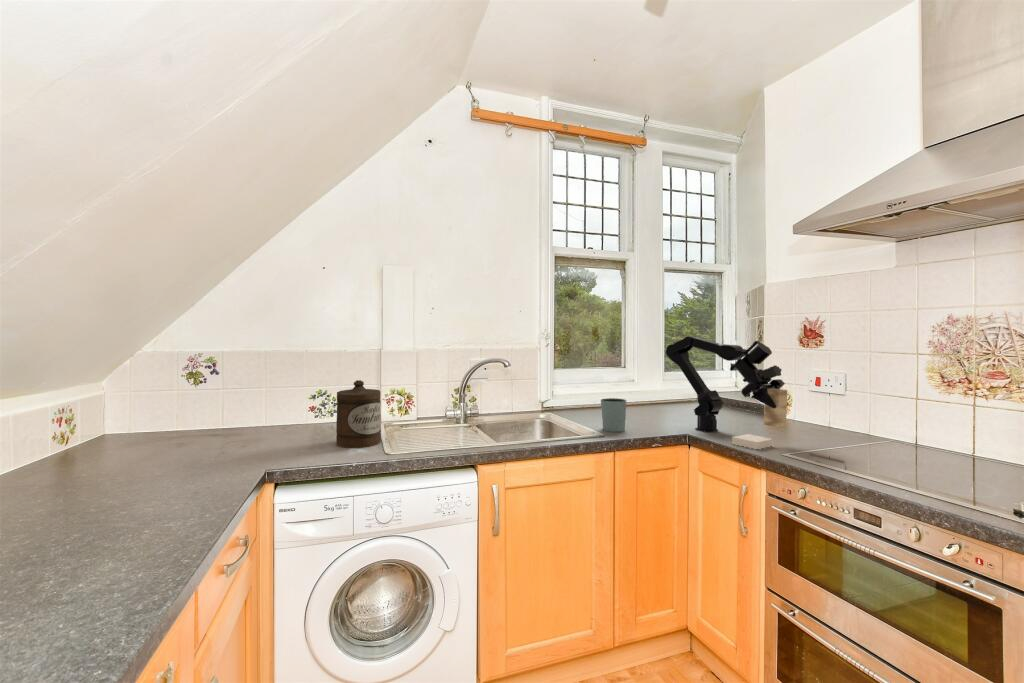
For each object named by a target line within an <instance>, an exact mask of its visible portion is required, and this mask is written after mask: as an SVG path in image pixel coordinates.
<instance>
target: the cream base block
mask: <svg viewBox="0 0 1024 683" xmlns="http://www.w3.org/2000/svg"><path fill="white" fill-rule="evenodd" d="M773 442H774V440H773V438H770V437H765V436H760V435H759V436H758V435H755V434H754V435H753V434H749V433H747V434H746V433H745V434H742V435H741V434H740V435H736V436H732V444H731V445H733V444H735V445H734V446H737V445H739V447H742V446H744V447H743V448H746V447H749V448H748V449H751V448H754V449H753V450H755V449H759V450H762V449H761V448H764V449H766V448H765V447H769V448H771V447H770V446H772V447H773V445H774V444H773Z"/></svg>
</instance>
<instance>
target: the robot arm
mask: <svg viewBox="0 0 1024 683" xmlns="http://www.w3.org/2000/svg"><path fill="white" fill-rule="evenodd" d="M693 348H696V349H700V350H702V351H703V350H704V351H706V352H709V353H713V354H714V355H717V356H718V357H719V358H721V359H723V360H725V361H727V362H729V361H730V362H731V361H734V363H730V367H729V371H730V372H733V371H735V372H736V371H737V372H738V373H739V374H740V375H741V376H742V381H743V382H744V383H747V384H746V385H745V386H744V387H742V389H741V394H742V396H743V397H744V398H750V399H754V400H756V401H758V402H760V403H762V404H764V405H765V404H766V405H768V406H770V407H772V408H776V405H775V403H774V402H773V400H772V399H771V397H770V396H769V394H768V393H767V389H772V388H773V389H781V388H782V387H783V386H784V385H785V384H786V383H785V382H784V380H782V379H781V378H780V379H778V378H776V379H773V378H775V377H780V376H782V368H780V366H777V365H773V366H770V367H768V368H765V369H759V368H758V367H757V366H756V365H760V364H762V363H763V362H764V361H765V360H767V358H768V357H770V356H771V355H772V353H773V351H772V350H771V348H770V347H769V346H767V345H766V344H764V343H762V342H760V341H759V340H755V341H753V342H752V345H750V346H749V347H748V348H747V349H745V348H743V347H742V345H739V344H725V343H724V344H723V343H719V342H715V341H711V340H708V339H704V338H702V337H697V336H696V335H687V336H685V337H684V338H683V339H680V340H678V341H677V342H676V341H675V342H674V343H673V344H669V345H668V346H666V348H665V354H666V356H667V358H669V359H670V361H671V362H672V363H674V364H676V365H677V366H678V367H679V368H680V370H681V372H682V373H683V375H684V376H685V378H686V380H687V381H688V383H689V384H690V386H691V387H692V389H693V390H694V392H695V393H696V396H697V398H696V399H697V403H698V406H696V407H695V408H694V409H693V412H694V414H695V416H697V420H696V421H697V424H696V426H697V427H694V430H695V429H696V431H700V432H704V431H705V432H706V433H711V432H712V433H713V432H718V431H719V429H718V427H717V422H718V420H717V416H718V415H719V413H720V411H721V409H722V408H723V405H724V403H723V401H722V400H723V398H722V397H721V396H720V395H719V392H718V391H717V390H711V389H709V387H708V386H707V384H706V383H705V381H704V380H703V379H702V377H701V375H700V374H699V373H698V371H697V370H696V368H695V367H694V365H693V364H692V362H691V360H690V353H689V352H690V351H691V350H692V349H693ZM751 393H752V395H751Z"/></svg>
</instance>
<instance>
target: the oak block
mask: <svg viewBox="0 0 1024 683" xmlns="http://www.w3.org/2000/svg"><path fill="white" fill-rule="evenodd" d="M767 393H768V394H769V396H770V397H771V399H772V400H773V402H774V403H775V405H776V408H772V407H770V406H768V405H766V404H764V413H763V414H764V415H763V418H764V419H763V425H765V426H769V427H770V426H771V427H774V428H775V427H776V428H781V427H786V426H787V412H788V411H787V410H788V406H787V405H788V390H787V389H781V388H780V389H773V388H772V389H767Z"/></svg>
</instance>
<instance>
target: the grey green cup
mask: <svg viewBox="0 0 1024 683" xmlns="http://www.w3.org/2000/svg"><path fill="white" fill-rule="evenodd" d="M600 405H601V406H600V407H601V419H602V430H603V431H606V432H612V433H614V432H615V433H621V431H622V432H624V431H626V413H627V412H626V410H627V399H625V398H617V397H616V398H614V397H612V398H611V397H609V398H608V397H607V398H601V399H600Z"/></svg>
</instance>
